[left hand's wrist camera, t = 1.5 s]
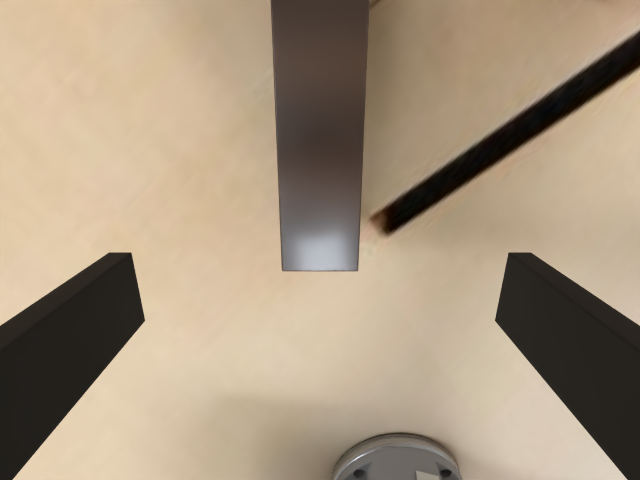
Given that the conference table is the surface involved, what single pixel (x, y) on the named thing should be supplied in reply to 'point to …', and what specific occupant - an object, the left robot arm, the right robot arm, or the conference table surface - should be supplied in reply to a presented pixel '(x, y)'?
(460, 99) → the conference table surface
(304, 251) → the walnut beam
